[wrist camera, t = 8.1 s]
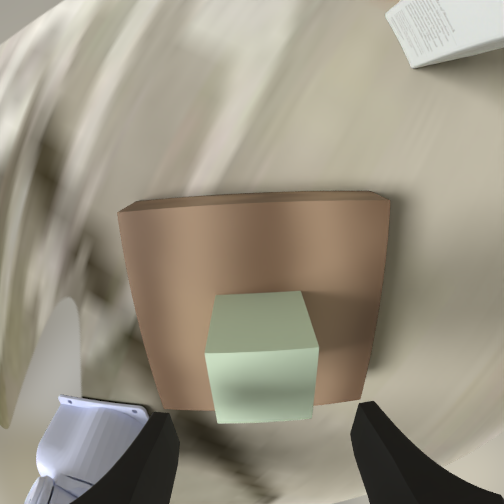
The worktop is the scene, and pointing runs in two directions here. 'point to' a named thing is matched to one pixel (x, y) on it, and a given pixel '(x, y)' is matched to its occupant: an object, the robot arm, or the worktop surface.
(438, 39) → the skincare box
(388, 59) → the worktop surface
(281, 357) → the sage block
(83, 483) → the robot arm
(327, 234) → the walnut base
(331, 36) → the worktop surface
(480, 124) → the worktop surface
